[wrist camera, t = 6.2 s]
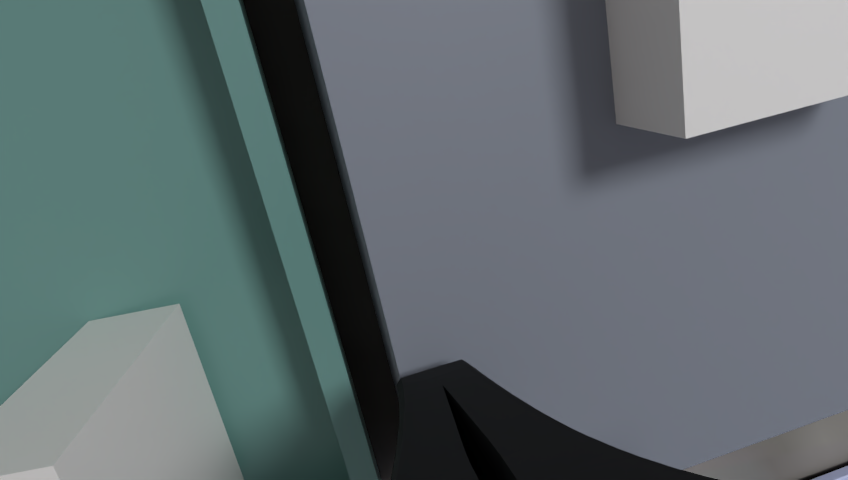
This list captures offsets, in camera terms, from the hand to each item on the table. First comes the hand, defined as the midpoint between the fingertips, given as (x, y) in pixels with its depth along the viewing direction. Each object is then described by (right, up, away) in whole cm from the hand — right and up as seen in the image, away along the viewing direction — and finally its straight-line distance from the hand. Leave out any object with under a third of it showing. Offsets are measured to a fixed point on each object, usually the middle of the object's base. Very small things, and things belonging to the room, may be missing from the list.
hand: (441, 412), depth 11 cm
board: (+4, +6, +3) cm, 8 cm away
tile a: (-5, -1, 0) cm, 5 cm away
